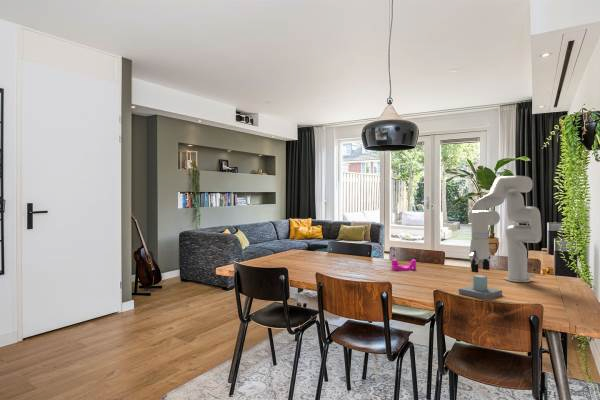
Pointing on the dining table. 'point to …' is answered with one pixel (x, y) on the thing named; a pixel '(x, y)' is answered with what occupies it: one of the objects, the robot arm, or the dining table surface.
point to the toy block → (403, 268)
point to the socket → (480, 292)
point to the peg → (480, 283)
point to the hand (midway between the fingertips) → (480, 270)
